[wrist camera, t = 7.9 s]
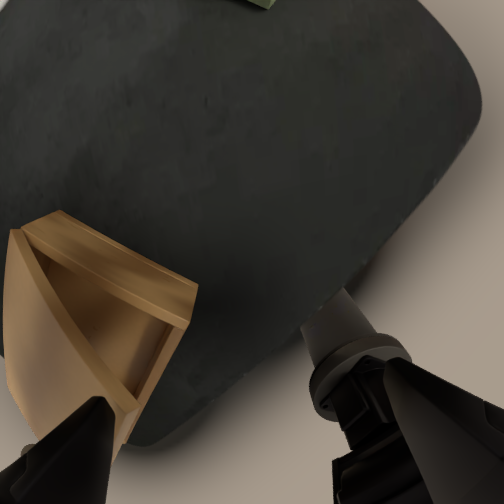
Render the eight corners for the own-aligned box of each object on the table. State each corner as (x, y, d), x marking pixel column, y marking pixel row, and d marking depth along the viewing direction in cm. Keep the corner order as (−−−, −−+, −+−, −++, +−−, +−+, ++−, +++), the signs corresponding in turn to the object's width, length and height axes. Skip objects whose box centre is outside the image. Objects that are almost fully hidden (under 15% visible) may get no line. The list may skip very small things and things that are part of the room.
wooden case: (199, 284, 19) (190, 322, 15) (135, 407, 23) (124, 444, 19) (59, 209, 17) (20, 226, 12) (35, 352, 21) (13, 382, 16)
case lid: (142, 405, 9) (37, 459, 4) (96, 498, 12) (54, 523, 8) (21, 228, 12) (-46, 229, 8) (14, 384, 16) (-26, 395, 12)
